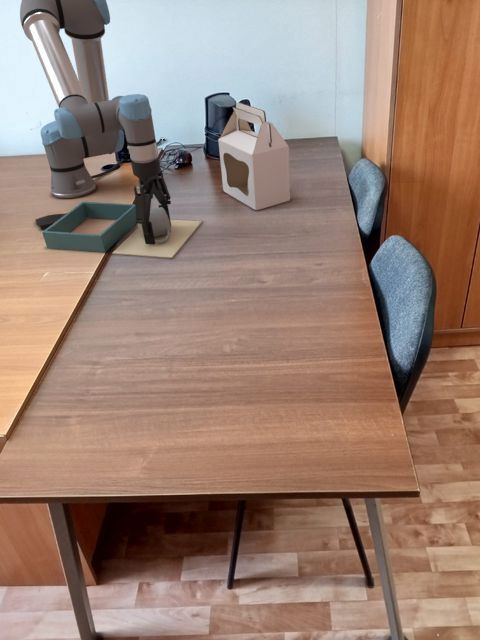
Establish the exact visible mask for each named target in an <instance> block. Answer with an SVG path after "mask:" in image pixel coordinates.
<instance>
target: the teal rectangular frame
mask: <svg viewBox="0 0 480 640" xmlns="http://www.w3.org/2000/svg"><path fill="white" fill-rule="evenodd" d="M66 213H67V214H66ZM66 213H65V214H66V215H64V216H63V217H62V218H60V219H59V220H58V221H56V222H55V223H54V224H52V225H51V226H50V227H48V228H47V229H45V230H42V232H41V233H42V237H43V239H44V243H45V246H46V248H47V249H55V250H65V251H79V252H80V251H81V252H82V251H83V252H95V253H107V252H108V251H109V250H110V249H111V248H112V247H113V246H114V245H115V244H116V243H117V242H118V241H119V240H121V238H122V237H123V236H124V235H125V234H126V233H127V232H129V231H130V230H131V228H133V227H134V226H135V225H136V224H137V223H136V205H135V203H113V202H97V201H96V202H94V201H82V202H80V203H79V204H78V205H76V206H74V207H73V208H72V209H71V210H69V211H68V212H66ZM87 219H103V220H114V221H113V222H112V223H111V224H110V225H109V226H107V228H105V230H103V231H102V232H100V234H96V233H80V232H72V231H74V230H75V229H76V228H77V227H79V225H81V224H82V223H83V222H84V221H86V220H87Z"/></svg>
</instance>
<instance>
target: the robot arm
mask: <svg viewBox="0 0 480 640" xmlns="http://www.w3.org/2000/svg"><path fill="white" fill-rule="evenodd" d="M19 7H20V8H19V21H20V24H21V27H22V28H21V29H22V30H23V33H24V35H25V36H26V38H27V39H28V40H29V41H31V42H32V45H33V47H34V50H35V52H36V55H37V57H38V60H39V62H40V65H41V67H42V70H43V72H44V75H45V77H46V80H47V83H48V85H49V88H50V89H51V92H52V94H53V98H54V100H55V102H56V104H57V108H55V110H54V111H53V112H54V113H53V116H54V120H53V121H50V122H49V123H47V124H45V125H43V126H42V127H41V129H40V132H39V133H40V138H41V143H42V145H43V148H44V152H45V155H46V159H47V161H48V162H47V163H48V165H49V168H50V172H51V174H50V175H51V176H50V191H51V194H52V196H53V197H54V198H57V199H64V200H65V199H76V198H80V197H81V198H82V197H84V196H87V195H89V194H91V193H93V192H94V191H96V189H97V187H96V183H95V180H94V179H96V178H97V179H98V178H99V177H102V176H104V175H106V174H109V173H111V172H112V171H114V170H115V169H117V168H118V166H120V165H121V164H122V163H123V162H125V161H126V160H128V158H126V159H123V158H122V159H123V160H122V161H120V160H119V161H118V162H116V163H115V164H114V165H113V166H112V167H111V168H108V169H107V170H104V171H103V172H99V173H98V174H97V173H96V174H94V175H91V174H90V172H89V171H88V169H87V167H86V164H85V159H89V158H94V157H100V156H104V155H112V154H114V153H118V152H121V151H122V149H123V148H124V145H125V139H126V144H127V147H126V148H127V150H128V155H129V154H130V157H129V159H130V160H131V162H130V165H131V170H132V174H133V176H134V177H136V178H138V185H133V191H134V202H135V203H134V204H135V205H136V224H137V225H138V224H142V229H143V234H144V239H145V244H153V245H154V244H155V239H154V234H153V229H152V223H151V222H149V219H150V211H151V206H152V199H153V198H155V199H156V200H157V202H158V206H157V208H160V207H163V208H164V210H165V211H166V213H167V216H168V218H169V221H170V220H171V215H170V211H169V205H171V204H172V201H171V194H170V192H169V189H168V186H167V184H166V181H165V177H164V172H163V170H162V168H161V161H160V158H159V155H160V154H159V150H158V145H161V143H162V141H164V142H165V141H166V139H165V138H164V139H163V140H162V139H161V138H160V139H159V140H158V141H157V139H156V133H155V127H154V120H153V114H152V111H153V110H152V107H151V104H150V99H149V97H148V96H147V95H145V94H140V93H135V94H134V93H133V94H127V95H117V96H114V97H113V98H112V99H110V97H109V96H110V95H109V90H108V82H107V74H106V67H105V59H104V52H103V45H102V44H103V43H102V38H103V37H104V36H105V34H106V28H105V27H106V26H107V25H109V24H110V23H111V14H110V10H109V5H108V2H107V0H21V1H20V6H19ZM61 30H64V34H65V35H66V36H67V37H68V38H70V39H71V44H72V51H73V55H74V61H75V66H76V67H75V68H76V70H75V68H74V66H73V64H72V61H71V59H70V56H69V53H68V52H67V48H66V46H65V44H64V41H63V39H62V37H61V34H60V31H61ZM170 226H171V221H170Z"/></svg>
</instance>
